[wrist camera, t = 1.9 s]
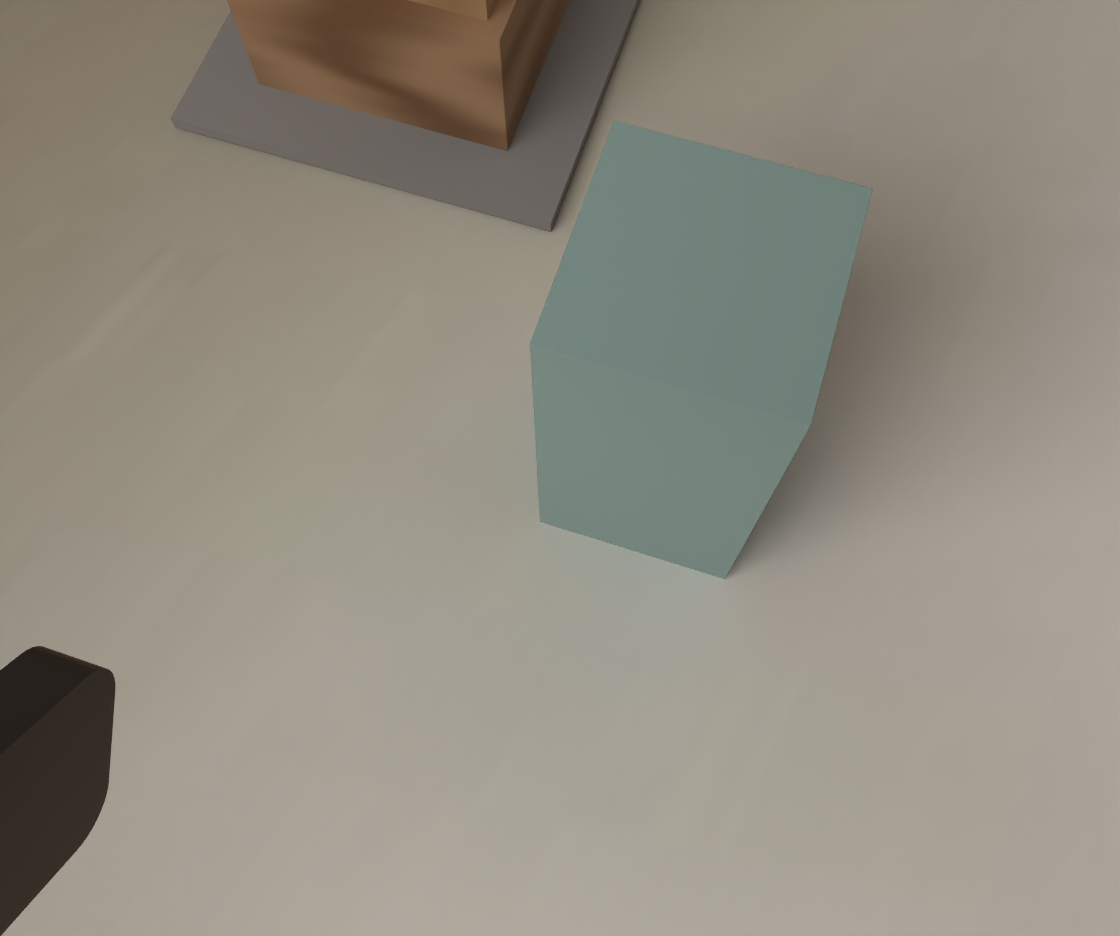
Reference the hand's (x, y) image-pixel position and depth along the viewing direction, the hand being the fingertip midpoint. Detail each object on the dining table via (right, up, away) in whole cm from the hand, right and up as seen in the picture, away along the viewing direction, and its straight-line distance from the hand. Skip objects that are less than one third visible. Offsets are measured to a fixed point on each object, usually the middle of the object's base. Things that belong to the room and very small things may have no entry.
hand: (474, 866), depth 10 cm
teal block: (+3, +4, +18) cm, 19 cm away
